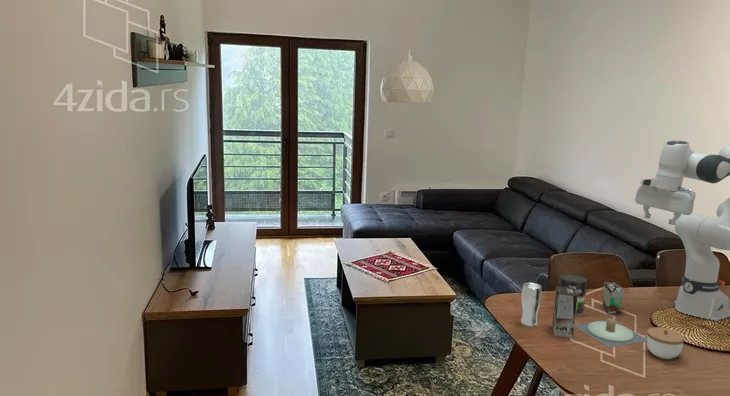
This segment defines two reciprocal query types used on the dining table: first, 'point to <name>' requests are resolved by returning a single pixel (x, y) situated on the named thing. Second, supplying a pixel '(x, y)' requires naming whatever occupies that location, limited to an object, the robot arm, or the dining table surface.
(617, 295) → the food container
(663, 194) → the robot arm
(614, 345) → the mat
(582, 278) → the coffee can
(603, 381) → the dining table surface
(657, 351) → the lidded jar
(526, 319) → the beer glass
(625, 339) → the lid
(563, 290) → the coffee box
